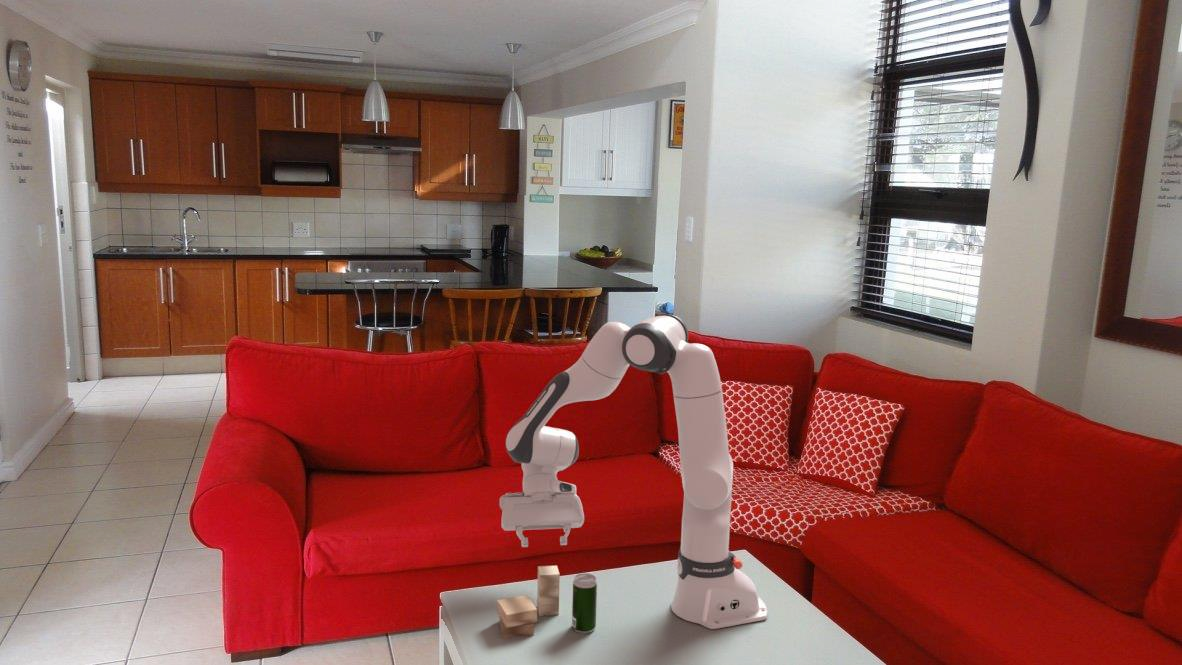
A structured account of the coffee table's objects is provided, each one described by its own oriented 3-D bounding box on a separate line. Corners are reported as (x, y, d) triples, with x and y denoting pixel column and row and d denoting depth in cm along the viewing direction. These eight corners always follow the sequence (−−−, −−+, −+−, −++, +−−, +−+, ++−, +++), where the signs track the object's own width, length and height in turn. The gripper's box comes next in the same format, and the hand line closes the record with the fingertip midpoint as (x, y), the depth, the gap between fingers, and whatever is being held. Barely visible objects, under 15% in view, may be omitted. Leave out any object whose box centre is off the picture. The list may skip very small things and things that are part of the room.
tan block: (556, 605, 198) (557, 565, 197) (558, 614, 194) (559, 574, 192) (537, 606, 198) (537, 566, 196) (539, 615, 193) (540, 575, 192)
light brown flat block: (530, 620, 192) (530, 608, 191) (533, 637, 185) (533, 624, 184) (499, 622, 190) (499, 610, 190) (501, 639, 184) (502, 626, 183)
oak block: (526, 607, 192) (526, 594, 191) (536, 621, 186) (537, 609, 185) (497, 612, 189) (497, 600, 189) (506, 627, 183) (506, 614, 182)
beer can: (580, 636, 185) (581, 586, 183) (567, 626, 189) (568, 576, 187) (600, 630, 188) (601, 580, 186) (587, 619, 192) (588, 570, 190)
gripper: (499, 488, 206) (501, 542, 198) (582, 485, 209) (587, 538, 201) (498, 498, 211) (500, 551, 203) (578, 495, 214) (584, 548, 206)
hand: (544, 545), depth 202 cm, fingers open, 8 cm apart
